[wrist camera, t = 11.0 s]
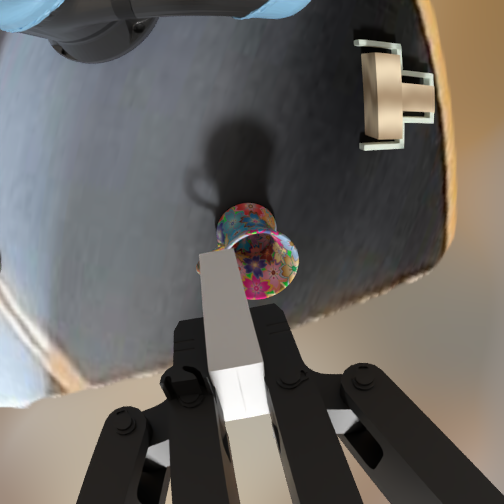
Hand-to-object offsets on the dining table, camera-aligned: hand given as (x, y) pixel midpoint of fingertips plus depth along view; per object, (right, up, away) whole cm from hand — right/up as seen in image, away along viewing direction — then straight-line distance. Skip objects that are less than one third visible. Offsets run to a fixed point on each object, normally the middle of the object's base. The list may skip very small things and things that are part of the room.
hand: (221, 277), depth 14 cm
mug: (-1, +4, +32) cm, 32 cm away
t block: (+22, +24, +25) cm, 41 cm away
